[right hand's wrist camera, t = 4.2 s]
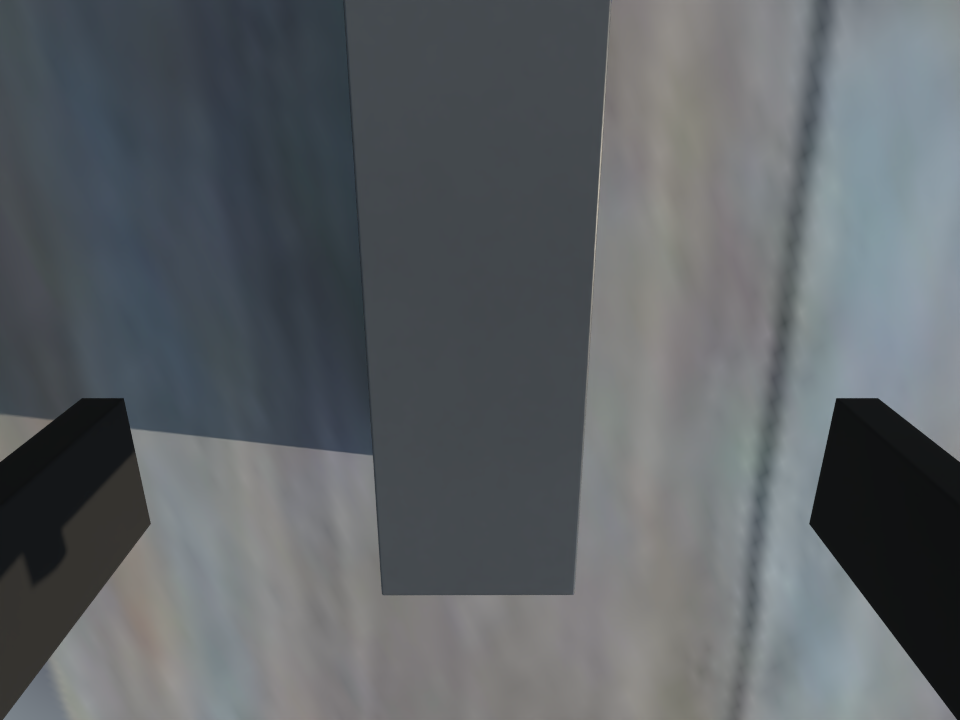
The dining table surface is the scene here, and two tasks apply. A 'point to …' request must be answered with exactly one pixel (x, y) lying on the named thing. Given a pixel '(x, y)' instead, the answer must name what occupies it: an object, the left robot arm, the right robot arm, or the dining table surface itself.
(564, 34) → the bar
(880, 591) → the right robot arm
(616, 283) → the dining table surface
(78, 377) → the dining table surface
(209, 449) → the dining table surface
